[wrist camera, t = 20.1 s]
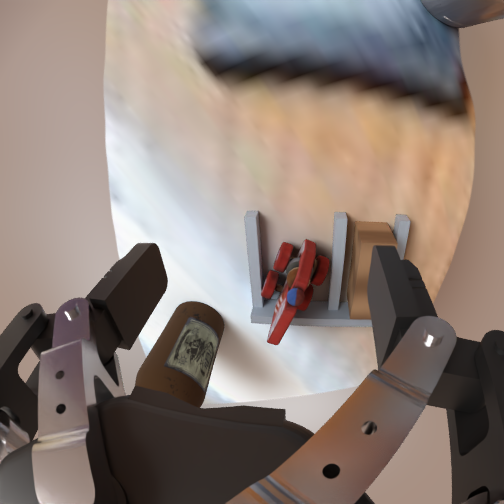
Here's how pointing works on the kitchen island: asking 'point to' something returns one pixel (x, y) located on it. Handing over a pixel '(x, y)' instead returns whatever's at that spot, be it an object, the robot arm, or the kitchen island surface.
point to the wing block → (364, 264)
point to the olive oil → (184, 354)
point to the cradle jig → (332, 310)
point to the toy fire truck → (293, 285)
